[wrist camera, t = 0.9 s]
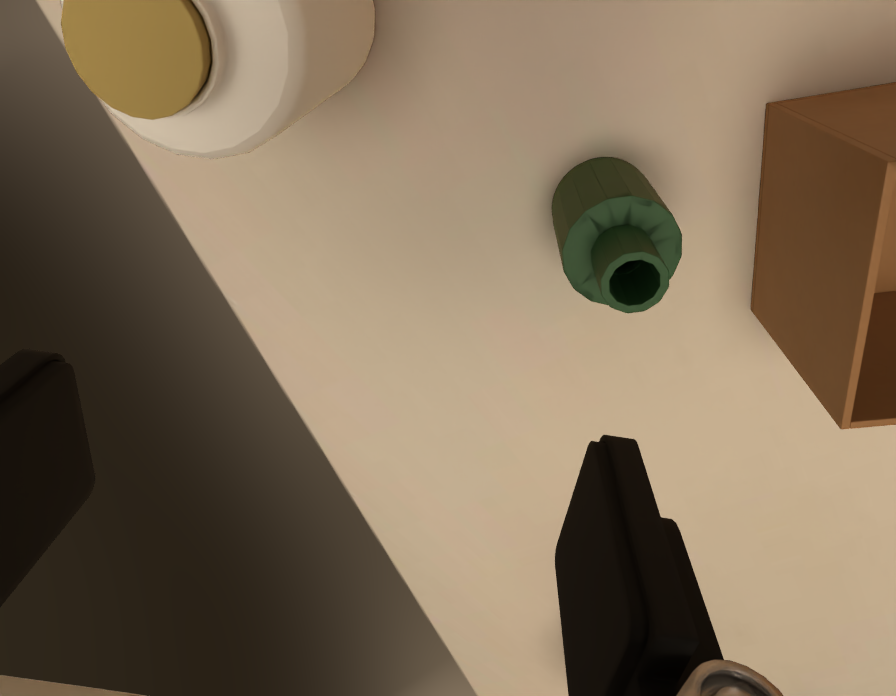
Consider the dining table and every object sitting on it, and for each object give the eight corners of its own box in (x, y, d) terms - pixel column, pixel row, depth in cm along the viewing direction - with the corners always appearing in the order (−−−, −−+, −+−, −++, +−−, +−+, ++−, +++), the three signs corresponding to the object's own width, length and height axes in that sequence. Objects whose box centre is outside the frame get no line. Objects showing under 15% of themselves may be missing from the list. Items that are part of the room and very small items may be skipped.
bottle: (547, 165, 36) (564, 232, 27) (649, 149, 36) (703, 212, 26) (556, 256, 39) (574, 345, 30) (650, 244, 38) (700, 331, 29)
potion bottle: (338, -111, 30) (173, -201, 15) (402, 64, 34) (324, 136, 19) (194, -41, 32) (-83, -57, 17) (271, 117, 36) (102, 222, 21)
